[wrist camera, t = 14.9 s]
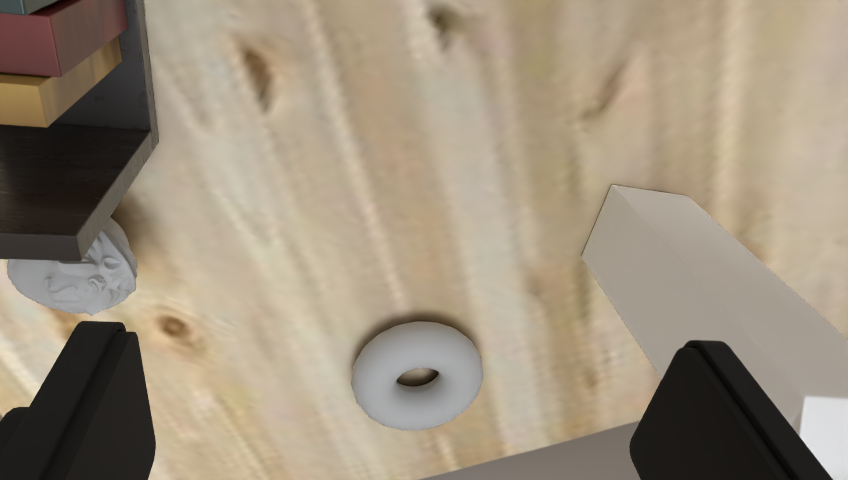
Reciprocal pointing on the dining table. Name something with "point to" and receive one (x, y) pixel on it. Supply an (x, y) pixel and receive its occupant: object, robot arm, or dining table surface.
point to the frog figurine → (81, 276)
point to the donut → (412, 351)
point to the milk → (721, 309)
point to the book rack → (70, 121)
